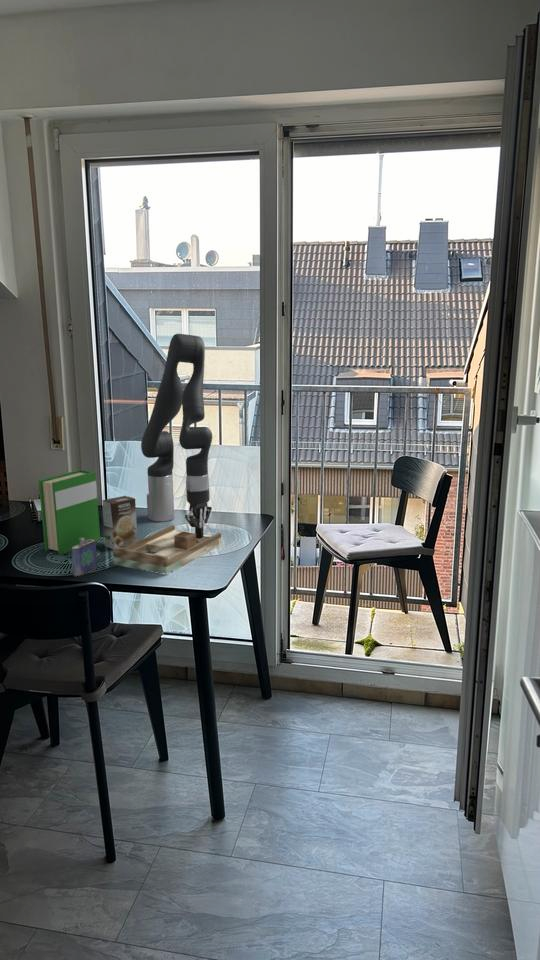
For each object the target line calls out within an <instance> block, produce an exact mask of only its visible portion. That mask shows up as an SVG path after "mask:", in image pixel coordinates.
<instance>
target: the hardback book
mask: <svg viewBox="0 0 540 960" xmlns="http://www.w3.org/2000/svg"><path fill="white" fill-rule="evenodd" d="M97 488H98V487H97V473H96V472H95V471H91V470H86V469H77V470H73V471H70V472H69V471H68V472H65V473H61V474H58V475H54V476H53V475H52V476H50V477H46V478H42V479H38V490H39V501H40V510H41V511H40V512H41V521H42V530H43V531H42V532H43V541H44V551H46V552H48V551H50V550H53V551H56V552H57V553H58V555H63V554H65V553H67V552H72V547H74V546H76V545H78V544H80V541H81V539H82V538H84V539H85V541H87V540H91V539H92V540H95V541H96V542H97V541H99V540H101V532H100V531H101V530H100V519H99V518H100V516H99V504H98V489H97ZM80 538H81V539H80ZM79 539H80V540H79Z"/></svg>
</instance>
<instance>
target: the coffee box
mask: <svg viewBox="0 0 540 960" xmlns="http://www.w3.org/2000/svg"><path fill="white" fill-rule="evenodd" d="M102 516H103V531H104V532H103V533H104V534H103V535H104V546H105V547H106V548H109V549H111V550H113V548H114V547H119V548H124V547H126V546H128V545H131V544H133V543H135V542H137V541H138V527H137V526H138V525H137V507H136V498H134V497H131V496H126V495H123V496H117V497H112V498H108V499H102Z"/></svg>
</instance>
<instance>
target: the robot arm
mask: <svg viewBox="0 0 540 960" xmlns="http://www.w3.org/2000/svg"><path fill="white" fill-rule="evenodd" d="M205 351H206V350H205V342H204V339H203V337H201V336H199V335H192V334H184V333H174V335H172V337H171V339H170V342H169V345H168V350H167V355H166V361H165V365H164V366H165V367H164V370H163V374H162V377H161V381H160V384H159V387H158V391H157V394H156V397H155V402H154V406H153V408H152V412H151V414H150V417H149V421H148V423H147V426H146V428H145V430H144V433H143V435H142V437H141V445H140V449H141V452H142V453H141V454H142V455H143V456H144V457H145V458H149V459H155V458H157V460H156V461H155V462H154V463H152V464H151V465H149V466H148V467H147V486H148V489H147V490H148V494H147V493H146V510H147V512H146V513H147V519H148V520H150V521H152V522H158V521H162V522H169V521H172V520H174V519H175V502H174V501H175V500H174V499H175V497H174V480H173V469H174V460H175V459H174V455H175V453H174V452H175V451H174V450H175V449H174V440H173V437H172V435H171V433H170V432H169V431H166V430H164V429H165V428H166V426H168V425H169V424H170V423H171V422H172V420H174V419H175V418H176V417H177V415H178V414H179V413H180V411H181V408H182V423H181V429H180V432H179V433H180V434H179V436H178V438H179V439H178V441H179V445H180V446H181V447H182V449H184V450H200V451H199V452H198V453H197V454H194V455H190V456H187V457H186V459H185V470H186V471H185V476H186V478H185V491H186V502H187V503H188V504H189V508H188V511H189V512H188V514H185V515H184V518H185V519H186V521H187V523H188V525H189V526H190V528H194V533H195V534H196V538H199V539H201V538H203V537H204V536H203V534H204V535H205V531H204V527H205V524H208V521H209V518H210V515H211V512H212V510H213V509H212V506H209V505H208V503H209V502H210V498H211V497H210V479H209V467H208V463H209V453H210V450H211V447H212V446H211V445H212V441H213V432H212V430H211V429H210V428H209V427H208V426H196V427H194V426H192V425H193V424H196V423H199V422H201V421H204V419H205V416H206V415H205V414H206V413H205V405H204V404H205V403H204V378H205V377H204V375H205V360H206V359H205V357H206V356H205V355H206V352H205ZM180 363H186V364H192V366H193V369H192V370H193V371H192V374H191V377H190V378H189V380H188V382H187V383H186V386H185V387H184V386H183V384H182V381H181V378H180V377H179V374H178V365H179V364H180Z"/></svg>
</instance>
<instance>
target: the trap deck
mask: <svg viewBox="0 0 540 960" xmlns="http://www.w3.org/2000/svg"><path fill="white" fill-rule="evenodd" d="M175 526H176V525H173V524H172V525H170V526H167V527H165V528H163V529H161V530H158V531H157V532H155V533H152V534H150V535H148V536H146V537H144V538H141V539H140V540H137V542H135V543H133V544H131V545H128V546H126V547H124V548H119V547H114V548H113V549H112V550H113V564H114V565H115V566H121V567H125V568H129V569H135V570H139V569H140V571H144V570H146V571H145V572H149V571H153V572H158V573H165V574H167V573H169V572H171V571H173V570H175V569H177V570H178V568H179V567H180V568H182V567H184V566H186V565H188V564H189V563H191V562H193V561H195V560H196V559H198V558H200V557H202V556H204V555H206V554H207V553H209V552H210V551H212V550H214V549H217V548H218V547H219V546H221V545H222V532H217V533H215V534H213V535H211V534H210V535H209V534H205V533H204V534H203V536H204V537H203V538H201V539H199V538H196V545H194V546H193V547H191V548H189V549H187V550H185V549H179V548H175V544H174V536H175V535H177V534H179V533H181V532H187V531H185V530H178V529H175ZM188 532H189V533H193V532H192V531H188ZM149 551H150V553H149ZM155 552H156V553H155ZM185 564H186V565H185ZM183 565H184V566H183ZM181 566H182V567H181ZM180 568H179V569H180ZM175 571H176V570H175ZM153 572H152V573H153ZM173 572H174V571H173ZM158 573H157V574H158ZM171 573H172V572H171Z"/></svg>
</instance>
